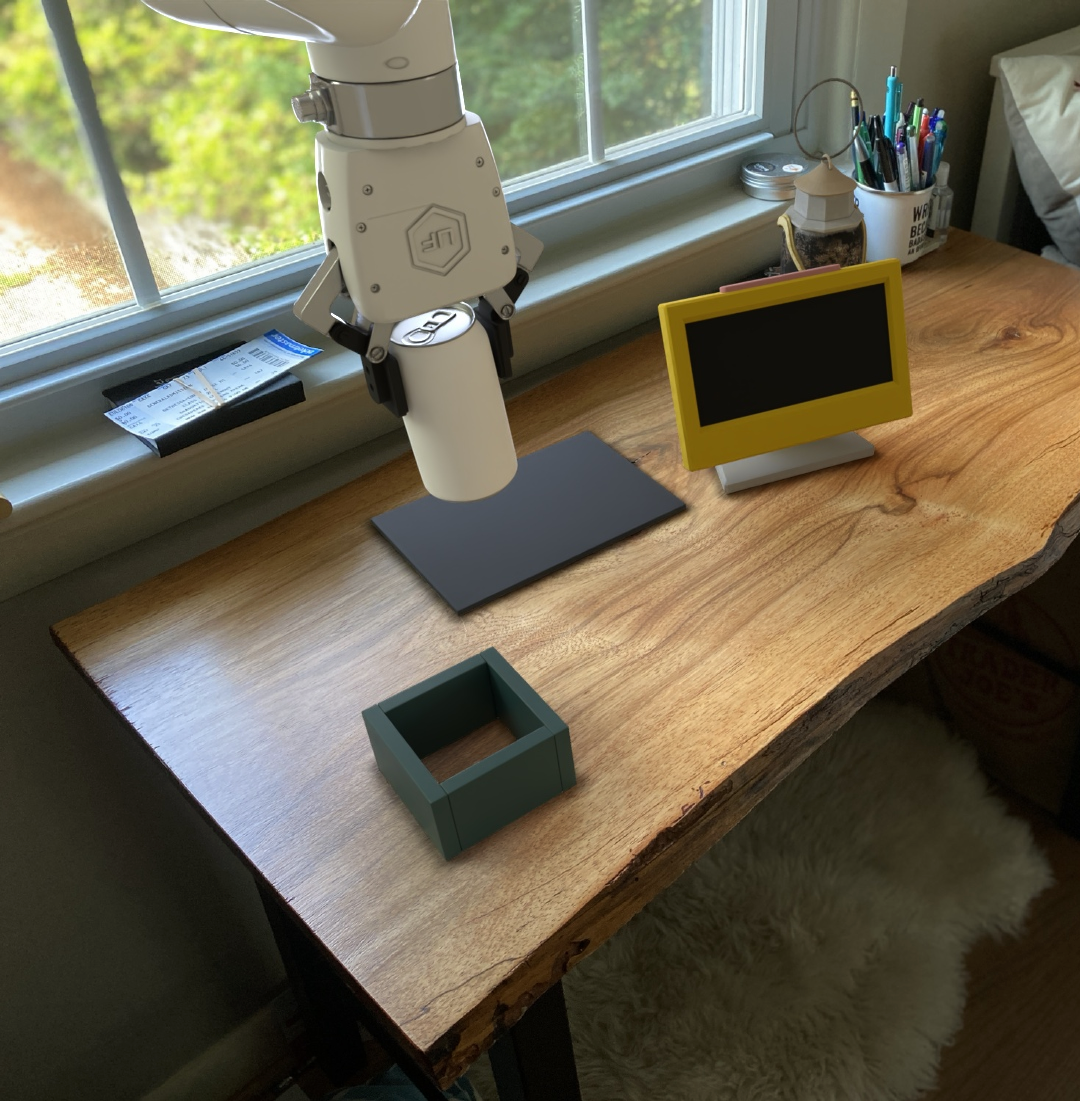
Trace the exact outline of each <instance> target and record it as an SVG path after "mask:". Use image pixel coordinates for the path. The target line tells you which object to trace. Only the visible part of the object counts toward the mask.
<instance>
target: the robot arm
mask: <svg viewBox="0 0 1080 1101" xmlns="http://www.w3.org/2000/svg"><path fill="white" fill-rule="evenodd" d="M139 1H140V2H142V3H143V4H144V5H146V6H147V7H148V8H150V9H151V10H153V11H155V12H157V13H158V14H160V15H162V16H165V17H167V18H169V19H172V20H174V21H177V22H179V23H181V24H182V23H183V24H186V25H190V26H194V27H199V28H204V29H207V30H217V31H223V32H229V33H230V32H231V33H237V34H244V35H250V36H264V37H265V36H266V37H273V38H279V39H287V40H294V41H301V42H304V43H305V46H306V51H307V54H308V59H309V60H308V61H309V63H310V68H311V72H309V73H308V79H309V82H310V84H309V89H307V90H305V91H304V93H303V94H298V95H297V94H296V95H293V96H292V97H291V106H292V110H293V113H294V116H295V117H296V119H297V120H298V122H299V123H300V124H304V123H308V122H313V123H316V124H320V125H322V126H323V127H324V129H322V130H320V131H317V132H316V134H315V142H314V145H315V146H314V151H315V152H314V153H315V154H314V155H315V180H316V191H317V202H318V212H319V217H320V224H321V230H322V238H323V243H324V249H325V253H326V256H325V258H324V259H323V260H322V262H321V263H320V265H319V267H318V268H317V270H316V272H314V274H313V275H312V277H311V279H310V280H309V281H308V283H307V285H306V286H305V288H304V289H303V290H302V292H301V293H300V295H299V297H298V298H297V300H295V302H294V304H293V306H292V313H293V315H294V316H295V317H296V318H298V319H299V321H301V322H302V323H303V324H304V325H306V326H308V327H309V328H311V329H312V330H314V331H316V332H318V333H320V334H322V335H323V336H324V337H327V338H329V339H330V340H332V341H334V342H335V343H336V344H338V345H340V346H342V347H343V348H345V349H348V350H350V351H352V352H353V353H356V354H357V355H359V357H360V362H361V366H362V370H363V374H364V378H365V383H366V386H367V390H368V393H369V395H370V398H371V399H372V400H373V402H375V404H377V405H382V406H384V407H385V408H386V409H387V410H388V411H389V412H390V413H391V414H393V415H394V416H395V417H396V418H397V419H400V418H403V416H406V415H407V413H408V412H409V410H408V405H407V401H406V396H405V391H404V386H403V382H402V377H401V372H400V368H399V363H398V361H397V359H396V358H395V357H394V356H393V355H391V354H390V353H389V351H388V347H389V343H390V339H391V335H392V331H393V326H394V322H398V321H402V320H406V319H409V318H412V317H416V316H419V315H422V314H425V313H429V312H432V311H435V310H438V309H441V308H445V307H448V306H451V305H454V304H457V303H460V302H463V303H465V302H466V301H470V300H473V299H476V300H477V302H478V303H477V306H474V307H472V308H473V309H474V311H475V313H476V319H477V320H478V321H479V323H480V324H481V325H482V326H483V327H484V329H485V330H486V333H487V335H488V339H489V342H490V346H491V350H492V354H493V358H494V363H495V367H496V371H497V375H498V379H500V380H501V379H502V380H504V381H505V380H508V379H511V378H512V377H513V368H512V361H511V358H512V359H513V357H514V354H515V353H514V352H515V351H514V346H513V337H512V331H511V324H510V323H511V322H510V320H512V318H514V316H515V315H516V311H517V309H516V305H515V304H516V303H517V301H518V300H519V298H520V296H521V295H522V293H523V292H524V291H525V288H526V287H527V285H528V284H529V281H530V273H531V272H533V270H534V269H535V267H536V265H537V264H538V262H539V260H540V258H541V256H542V254H543V252H544V250H545V244H544V242H543V241H542V240H541V239H539V238H537V237H536V236H534V235H533V234H531V233H529V232H528V231H527V230H524V229H523V228H521V227H520V226H518V224H517V225H516V224H515V223H513V222H512V221H511V220H510V214H509V212H508V211H509V210H508V205H507V200H506V196H505V193H504V189H503V184H502V181H501V177H500V174H499V170H498V167H497V163H496V160H495V157H494V156H495V155H494V153H493V150H492V146H491V143H490V141H489V137H488V134H487V132H486V130H485V127H484V124H483V122H482V119H481V117H480V115H478V114H476V113H475V112H472V111H469V110H466V109H465V102H464V95H463V89H462V82H461V75H460V71H459V69H460V68H459V63H458V58H457V57H458V56H457V52H456V43H455V38H454V30H453V23H452V18H451V10H450V2H449V0H139ZM338 296H339V297H340V298H341V299H343V300H345V301H351V302H352V303H353V305H354V309H353V314H352V318H351V321H350V322H349V321H347V320H345V319H344V318H342V317H339V316H337V315H335V314H334V313H332V312H331V307H332V305H333V304H334V302H335V301H336V299H337V298H338Z"/></svg>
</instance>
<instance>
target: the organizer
mask: <svg viewBox="0 0 1080 1101" xmlns="http://www.w3.org/2000/svg"><path fill="white" fill-rule="evenodd" d="M361 716H362V719H363V723H364V726H365V729H366V733H367V736H368V739H369V742H370V746H371V749H372V752H373V755H374V758H375V762H376V766H377V768H378V770H379V771H380V773H381V775H383V777H384V778H385V780H386V781H387V782H388V784H389V785H390V787H391V788H392V789H393V791H394V792H395V793H396V795H397V796H398V797H399V799H400V800H401V802H402V803H403V805H404V806H405V808H407V810H408V811H409V813H410V814H411V816H412V817H413V819H414V820H415V821H416V823H417V824H418V825H419V827H420V828H421V829H422V830H423V832H424V833H425V835H426V837H427V838H428V839H429V840H430V842H431V843H432V844H433V846H434V847H435V848H436V850H437V851H438V852H439V854H440V855H441V857H442V858H443V859H444V861H445V862H448V861H450V860H451V859H453V858H455V857H456V856H458V855H460V854H462V852H465V851H467V850H468V849H470V848H472V847H473V846H475V845H477V844H478V843H480V842H482V841H484V840H485V839H487V838H488V837H490V836H492V835H493V834H495V833H497V832H498V831H500V830H502V829H503V828H505V827H507V826H509V825H511V824H512V823H514V822H515V821H517V820H519V819H521V818H522V817H524V816H526V815H528V814H529V813H531V812H532V811H534V810H536V809H537V808H539V807H540V806H542V805H544V804H545V803H548V802H549V801H551V800H553V799H554V798H556V797H557V796H559V795H561V794H562V793H565V792H566V791H568V790H570V789H571V788H573V787H575V786H577V784H578V782H577V776H576V775H577V774H576V769H575V768H576V767H575V760H574V753H573V745H572V739H571V733H570V726H569V725H568V724H567V722H565V721H564V720H563V719H562V718H561V716H559V714H558V713H557V712H556V711H555V710H554V709H553V708H552V707H551V706H550V705H549V704H548V703H547V702H546V700H544V699H543V697H542V696H541V695H540V694H539V693H538V692H537V691H536V690H535V689H534V687H532V686H531V685H530V683H528V682H527V680H526V679H525V678H524V677H523V676H522V675H521V674H520V673H519V672H518V671H517V670H516V669H515V668H514V666H512V665H511V663H510V662H508V660H507V659H506V658H505V657H504V656H503V655H502V654H501V652H499V651H498V649H496V647H495V646H493V645H492V646H490V647H487V648H486V649H484V650H482V651H480V652H479V653H476V654H475V655H472V656H470V657H468V658H466V659H464V660H462V661H460V662H458V663H456V664H454V665H452V666H450V667H448V668H446V669H444V670H442V671H439V672H437V673H436V674H434V675H432V676H430V677H428V678H426V679H424V680H421V681H419V682H417V683H416V684H413V685H411V686H409V687H408V688H405V689H403V690H401V691H400V692H397V693H395V694H393V695H391V696H389V697H387V698H385V699H383V700H382V701H379V702H377V703H376V704H373V705H371V706H369V707H367V708H365V709H363V710H361ZM496 720H498V721H499V722H500V723H501V724H502V725H503V726H504V727H505V728H506V729H507V731H508V732H509V733H510V734H511V735H512V736H513V738H515V739H516V741H514V742H512V743H510V744H508V745H506V746H505V747H503V748H501V749H500V750H498V751H496V752H494V753H492V754H490V755H488V756H487V757H485V758H483V759H481V760H480V761H478V762H476V763H474V764H471V765H470V766H469V767H466V768H465V769H463V770H461V771H459V772H457V773H455V774H454V775H452V776H451V777H448V778H447V779H445V780H443V781H440V783H439V782H438V780H437V779H436V778H435V776H434V775H432V773H431V772H430V770H429V769H428V768H427V767H426V765H425V764H424V762H423V761H422V759H425V758H426V757H428V756H430V755H432V754H434V753H437V752H438V751H440V750H441V749H444V748H445V747H448V746H449V745H450V744H453V743H455V742H457V741H459V740H460V739H462V738H464V737H466V736H468V735H470V734H471V733H473V732H475V731H477V730H479V729H481V728H482V727H485V726H486V725H488V724H490V723H491V722H493V721H496Z"/></svg>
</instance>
